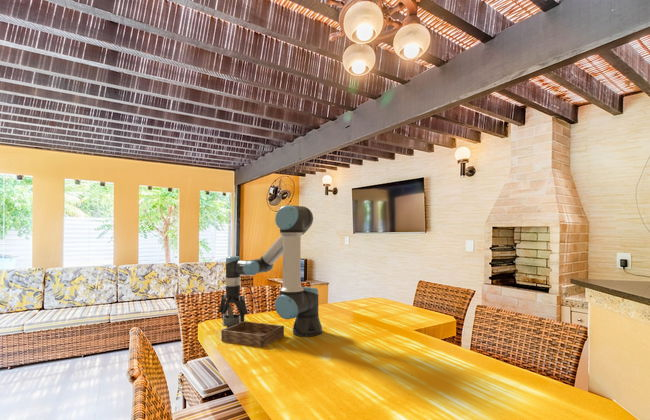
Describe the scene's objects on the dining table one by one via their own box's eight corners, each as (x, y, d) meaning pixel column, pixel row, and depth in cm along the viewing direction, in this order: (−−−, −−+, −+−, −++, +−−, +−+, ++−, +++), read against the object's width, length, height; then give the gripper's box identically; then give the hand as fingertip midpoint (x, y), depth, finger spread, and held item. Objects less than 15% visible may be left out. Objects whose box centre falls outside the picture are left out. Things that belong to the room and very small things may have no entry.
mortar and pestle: (245, 329, 187) (245, 306, 188) (229, 333, 181) (229, 309, 182) (235, 325, 196) (235, 303, 196) (219, 328, 189) (219, 306, 190)
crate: (283, 336, 175) (283, 325, 175) (262, 347, 159) (262, 336, 159) (244, 330, 185) (244, 321, 185) (221, 340, 169) (221, 330, 169)
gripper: (254, 285, 188) (254, 327, 187) (221, 283, 198) (221, 323, 197) (245, 287, 181) (245, 330, 180) (211, 285, 191) (211, 326, 190)
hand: (233, 326), depth 188 cm, fingers closed on mortar and pestle, 10 cm apart
